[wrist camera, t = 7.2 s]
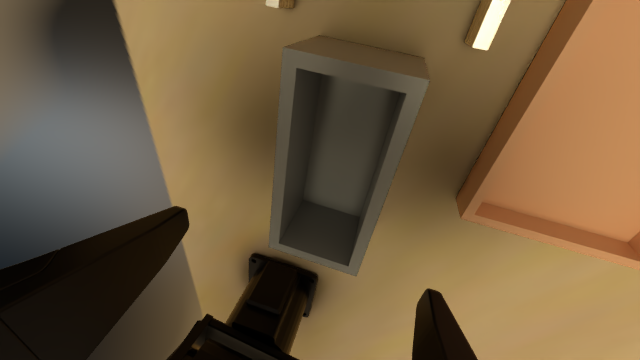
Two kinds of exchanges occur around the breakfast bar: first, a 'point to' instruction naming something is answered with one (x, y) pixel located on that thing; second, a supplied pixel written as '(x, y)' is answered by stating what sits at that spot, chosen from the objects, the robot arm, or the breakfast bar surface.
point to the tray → (570, 140)
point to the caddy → (339, 145)
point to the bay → (481, 27)
